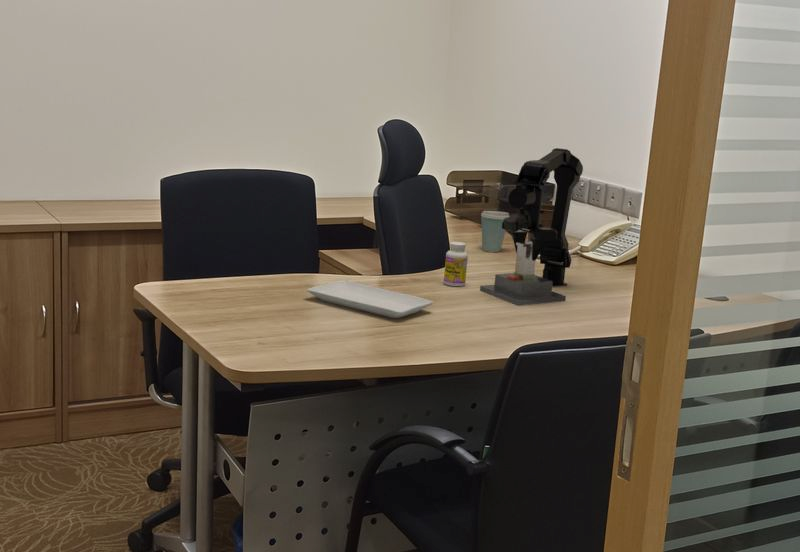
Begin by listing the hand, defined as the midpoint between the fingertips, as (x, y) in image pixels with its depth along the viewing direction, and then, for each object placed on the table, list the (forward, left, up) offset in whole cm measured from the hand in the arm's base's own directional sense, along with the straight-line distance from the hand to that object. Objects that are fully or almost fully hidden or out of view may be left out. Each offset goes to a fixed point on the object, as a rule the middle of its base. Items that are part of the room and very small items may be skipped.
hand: (526, 258), depth 274 cm
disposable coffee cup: (-36, -61, -12) cm, 72 cm away
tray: (+51, -3, -12) cm, 53 cm away
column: (0, 0, -7) cm, 7 cm away
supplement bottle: (+12, -18, -12) cm, 25 cm away
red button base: (0, 0, -12) cm, 12 cm away
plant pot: (-61, -61, -12) cm, 87 cm away
